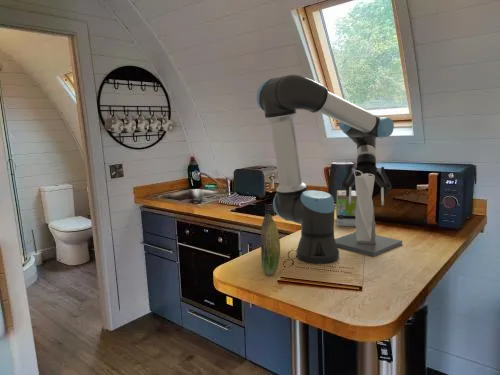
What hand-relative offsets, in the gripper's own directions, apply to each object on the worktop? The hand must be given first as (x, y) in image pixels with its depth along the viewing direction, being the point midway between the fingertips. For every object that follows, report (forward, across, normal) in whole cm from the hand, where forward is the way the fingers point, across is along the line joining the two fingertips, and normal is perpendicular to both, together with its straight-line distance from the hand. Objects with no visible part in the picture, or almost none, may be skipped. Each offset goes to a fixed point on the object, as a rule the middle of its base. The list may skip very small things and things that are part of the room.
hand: (366, 203), depth 146 cm
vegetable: (+37, +29, +13) cm, 49 cm away
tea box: (-14, +8, -39) cm, 42 cm away
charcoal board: (+10, 0, -14) cm, 17 cm away
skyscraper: (+9, 0, -13) cm, 16 cm away
